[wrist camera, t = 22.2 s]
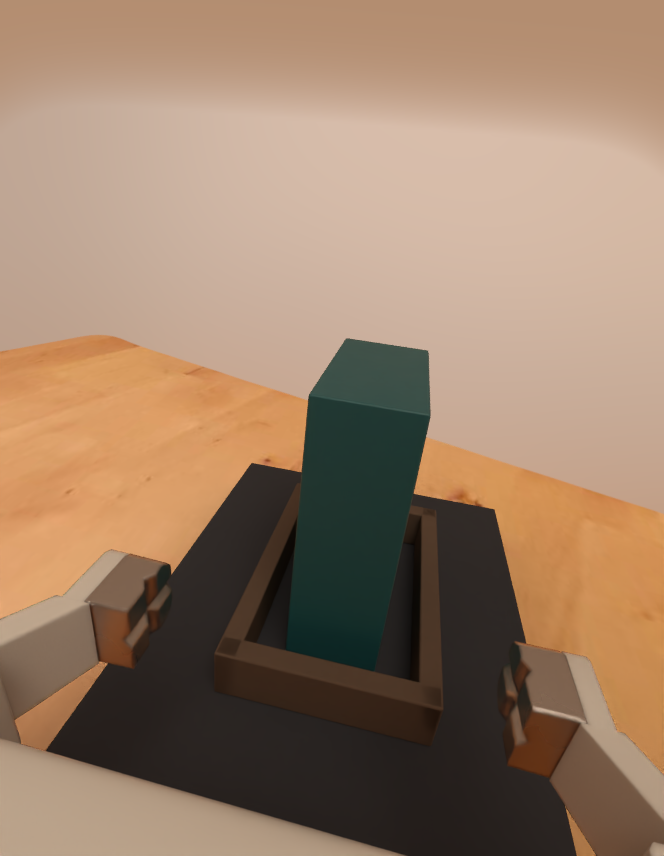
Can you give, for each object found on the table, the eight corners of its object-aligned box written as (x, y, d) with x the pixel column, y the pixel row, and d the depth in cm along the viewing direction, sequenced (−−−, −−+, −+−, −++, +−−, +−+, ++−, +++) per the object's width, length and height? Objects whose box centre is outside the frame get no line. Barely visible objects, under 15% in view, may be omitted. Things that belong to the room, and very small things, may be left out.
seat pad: (486, 534, 30) (503, 482, 28) (580, 1013, 12) (642, 950, 10) (250, 487, 32) (252, 435, 30) (21, 837, 14) (-7, 758, 12)
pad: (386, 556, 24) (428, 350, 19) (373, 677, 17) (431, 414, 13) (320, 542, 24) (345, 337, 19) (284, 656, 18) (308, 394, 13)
